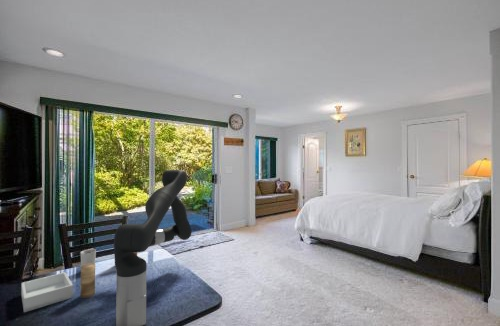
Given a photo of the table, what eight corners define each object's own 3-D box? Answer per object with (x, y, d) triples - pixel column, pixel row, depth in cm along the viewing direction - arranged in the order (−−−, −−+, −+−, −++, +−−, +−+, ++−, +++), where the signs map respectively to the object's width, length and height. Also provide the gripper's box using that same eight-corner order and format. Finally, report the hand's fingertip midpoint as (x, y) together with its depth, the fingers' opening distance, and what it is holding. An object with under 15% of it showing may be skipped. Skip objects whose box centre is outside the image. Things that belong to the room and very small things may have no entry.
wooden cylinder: (96, 294, 100) (96, 265, 101) (81, 299, 97) (82, 269, 97) (93, 290, 104) (93, 262, 104) (79, 295, 100) (79, 265, 101)
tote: (72, 297, 99) (73, 284, 99) (23, 312, 88) (24, 298, 88) (65, 283, 111) (65, 272, 111) (21, 295, 100) (21, 282, 101)
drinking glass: (98, 268, 127) (99, 249, 128) (89, 273, 121) (89, 253, 121) (87, 267, 128) (87, 248, 128) (76, 273, 121) (77, 253, 122)
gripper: (147, 227, 126) (112, 234, 114) (159, 233, 116) (123, 240, 104) (147, 242, 126) (112, 250, 114) (159, 248, 116) (123, 258, 104)
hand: (117, 245), depth 109 cm, fingers open, 8 cm apart
